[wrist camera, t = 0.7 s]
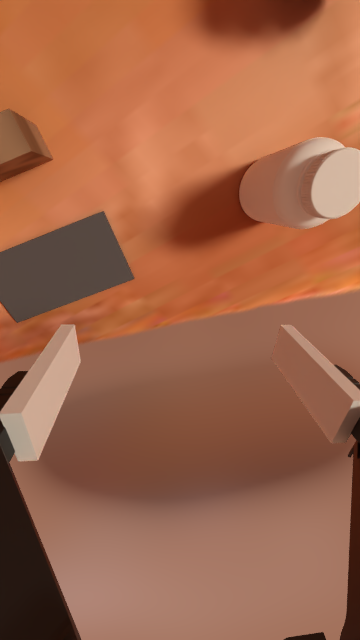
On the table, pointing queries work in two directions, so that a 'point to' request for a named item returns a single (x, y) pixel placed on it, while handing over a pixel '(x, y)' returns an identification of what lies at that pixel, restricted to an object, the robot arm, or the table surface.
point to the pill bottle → (302, 184)
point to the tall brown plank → (20, 145)
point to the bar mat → (61, 267)
